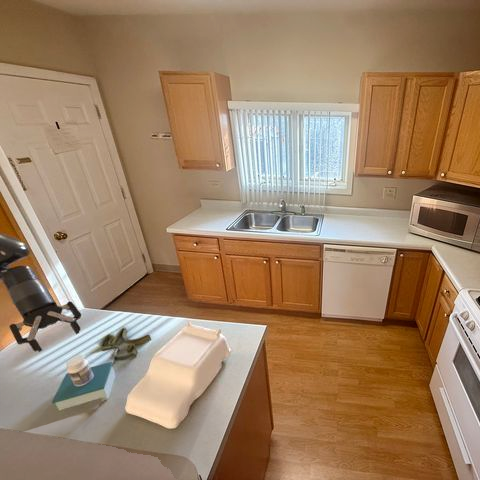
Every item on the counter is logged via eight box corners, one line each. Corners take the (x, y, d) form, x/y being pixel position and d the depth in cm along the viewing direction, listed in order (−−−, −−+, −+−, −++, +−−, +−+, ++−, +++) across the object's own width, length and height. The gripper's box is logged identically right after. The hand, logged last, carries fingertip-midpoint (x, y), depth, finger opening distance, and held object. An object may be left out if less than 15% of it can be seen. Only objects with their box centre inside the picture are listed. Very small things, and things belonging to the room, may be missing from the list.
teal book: (59, 415, 75) (51, 401, 73) (72, 386, 83) (66, 373, 81) (109, 399, 80) (103, 387, 77) (117, 373, 88) (112, 361, 86)
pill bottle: (70, 384, 78) (59, 365, 74) (86, 371, 82) (77, 352, 78) (82, 388, 77) (72, 369, 73) (97, 375, 81) (89, 356, 77)
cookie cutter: (155, 339, 102) (154, 336, 102) (128, 363, 92) (126, 359, 91) (121, 329, 107) (119, 326, 106) (90, 351, 96) (89, 347, 95)
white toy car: (234, 352, 98) (231, 325, 93) (175, 434, 72) (165, 403, 66) (193, 341, 103) (187, 314, 97) (122, 413, 76) (109, 383, 71)
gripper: (-5, 306, 70) (25, 355, 69) (63, 282, 81) (90, 324, 81) (-2, 314, 74) (27, 360, 74) (62, 290, 86) (88, 330, 85)
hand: (60, 341), depth 77 cm, fingers open, 8 cm apart
